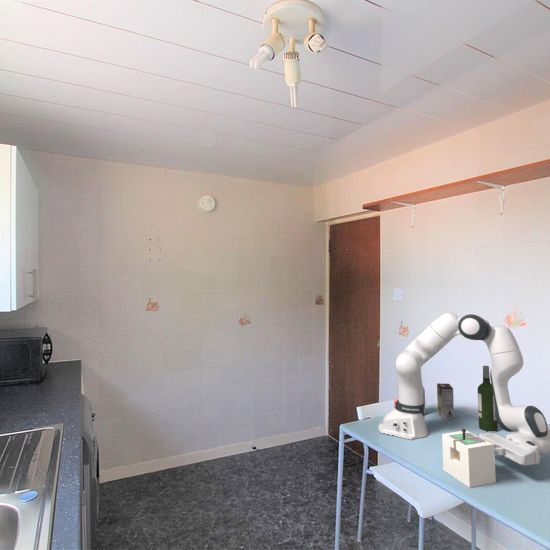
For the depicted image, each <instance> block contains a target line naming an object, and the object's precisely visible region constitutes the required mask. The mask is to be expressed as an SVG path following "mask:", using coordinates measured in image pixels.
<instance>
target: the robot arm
mask: <svg viewBox="0 0 550 550" xmlns="http://www.w3.org/2000/svg"><path fill="white" fill-rule="evenodd" d="M459 335H461V336H462V337H464V338H465V339H468V340H471V341H483V342H484V343H485V345H486V347H487V349H488V352H489V354H490V356H489V357H490V359H491V369H490V370H489V375H490V383H491V385H492V390H493V396H494V401H495V417H496V421H497V423H498V427H500V428H501V429H502V430H503V431H505V432H509V433H508V434H506V435H505V437H504V436H503V435H500V434H497V433H495V432H483V433H479V434H478V438H483V439H485V440H487V441H489V442H491V443H493V444H494V451H495V455H500V456H503V457H505V458H507V459H509V460H510V461H514V462H515V463H517V464H518V465H521V466H525V467H526V466H532V465H539V464H540V460H541V459H540V456H544V455H546V454H550V428H549V427H548V423H547V420H546V417H545V415H544V414H543V412H542V411H541V410H540V409H539V407H536V406H535V405H513V404H512V402H511V397H510V393H509V388H508V387H509V386H508V385H509V384H508V383H509V381H510V379H511V378H512V377H514V376H516V375H517V374H518V373H519V372H520V371H521V370H522V368H523V366H524V358H523V354H522V352H521V350H520V349H521V348H520V347H519V344H518V342H517V340H516V336H514V334H513V331H511V329H510V328H509V327H506V326H503V325H495V326H491V324H490V323H489V321H488V320H487V319H486V318H484V317H483V316H481V315H478V314H473V313H472V314H471V313H470V314H466V315H464V316H462V317H460V316H458V315H457V314H456V313H453V312H445V313H443V314H441V315H440V316H438V317H437V318H436V319H434V320H433V321H432V322H431V323H429V325H428V326H427V327H426V328H425V329H424V330H422V332H420V333H419V334H418V335H417V336H416V337H415V339H413V340H412V341H411V342H410V343H409V344H408V345H407V346H406V347H405V348H403V350H402V351H401V352H400V353H399V354H398V355H397V357H396V358H395V372H396V379H397V386H398V387H397V388H398V390H397V391H398V398H395V399H394V400H393V401H394V404H393V405H394V408H393V409H391V410H389V411H388V412H386V413H385V415H384V416H383V420H382V422H380V423H379V424H378V426H377V427H378V428H377V429H378V430H379V431H380V432H381V433H380V432H379V431H378V432H379V433H380V434H383V433H385V434H384V435H387V434H389V435H388V436H392V435H394V436H393V437H396V436H397V437H396V438H400V439H401V438H402V439H406V440H410V441H411V440H412V441H414V440H416V439H420V438H422V439H423V438H425V437H428V436H429V432H428V429H427V423H426V419H425V418H426V417H425V414H426V405H425V406H424V402H423V388H424V386H423V379H422V366H423V365H425V363H427V362H428V361H429V360H431V359H432V358H433V357H434V356H435V355H437V354H438V353H439V352H440V351H441V350H443V349H444V348H445V346H446V345H448V343H450V342H451V341H452V340H453V339H454V338H455V337H457V336H459ZM382 423H383V424H382Z"/></svg>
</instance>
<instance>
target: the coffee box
mask: <svg viewBox="0 0 550 550" xmlns="http://www.w3.org/2000/svg"><path fill="white" fill-rule="evenodd" d="M436 393H437V394H436V395H437V397H436V398H437V413H438V414H439V416H440V418H441V419H443V420H446V419H447V420H455V408H454V406H455V405H454V402H455V401H454V388H453V386H452V385H451V384H450V383H440V382H439V383H436Z"/></svg>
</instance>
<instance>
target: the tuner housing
mask: <svg viewBox="0 0 550 550" xmlns="http://www.w3.org/2000/svg"><path fill="white" fill-rule="evenodd" d="M441 439H442V440H441V441H442V445H441V446H442V468H443V471H444V472H446V473H448V474H449V475H451V477H453V478H455V479H456V480H458V482H460V483H462V484H464V485H465V486H467V488H469V489H471V488H475V487H480V486H487V485H492V484H495V483H496V482H497V481H496V479H497V478H496V461H495V460H496V459H495V457H496V454H495V452H494V444H493V443H491V442H489V441H487V440H485V439H483V438H479V435H476V434H474V433H472V432H471V431H468V430H466V432H465V440H463V432H462V430H459V431H453V432H452V431H451V432H447V433H446V432H445V433H442V434H441ZM456 450H457V451H459V452H460V460H458V459H457V458H456Z"/></svg>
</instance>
